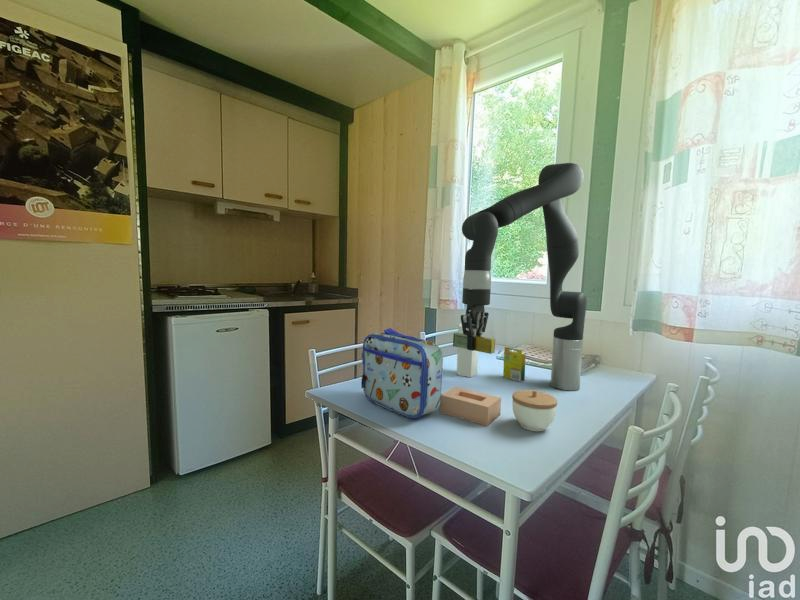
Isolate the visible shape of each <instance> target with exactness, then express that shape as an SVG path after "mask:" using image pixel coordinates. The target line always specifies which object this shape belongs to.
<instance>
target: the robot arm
mask: <svg viewBox="0 0 800 600" xmlns="http://www.w3.org/2000/svg"><path fill="white" fill-rule="evenodd" d="M584 177H585V176H584V171H583V169H582V167H581V166H580V165H579V164H577V163H575V162H574V163H573V162H564V163H554V164H553V163H552V164H548V165H545V166H544V167H543V168H542V169H541V170H540V173H539V176H538V184H536V185H534V186H531V187H528V188H525V189H522V190H518V191H517V192H514V193H511V194H510V195H507V196H506V197H504V198H502V199H500V200H499V201H497V202H496V203H494V204H493V205H490V206H489V207H486V208H484V209H482V210H480V211H477V212H475V213H473V214H470V215H469V216H468V217H466V219H464V221H463V222H462V225H461V233H462V235H463V237H465V239H467V240H469V241H472V244H471V245H472V246H471V247H470V248H469V249H468V250H467V251H466V252H465V256H464V271H463V278H462V295H461V296H462V297H461V300H462V301H461V303H462V304H463V305H466V309H465V314H461V315H460V323H462V329H463V334H464V335H466V336H467V350H471V351H474V350H475V345H476V336H481V337H482V336H483V334H484V333H485V332H486V329H487V323H488V320H489V314H490V313H489V312H487V311H486V312H485V310H486V309H485V306H489V305H491V304H490V303H491V288H492V276H491V275H492V273H491V272H492V271H491V270H492V268H491V267H492V255H493V251H494V248H495V245H496V243H497V242H496V241H497V239H498V234H499V228H504V227H506V226H509V225H511V224H513V223H514V222H516V221H518V220H519V219H522V218H523V217H525V216H526V215H528V214H530V213H531V212H534V211H535V210H537V209H540V208H542V213H543V220H544V229H545V237H546V238H545V239H546V251H547V252H546V255H547V262H548V272H549V307H550V311H551V315H552V316H554V317H555V318H560V319H561V318H562V319H571V320H572V321H571V323H570V324H567V325H564V326H558V327H556V328H554V329H553V338H552V354H551V356H552V357H551V371H550V373H551V374H550V385H551V386H552V387H554V388H556V389H558V390H565V391H578V390H580V388H581V387H580V386H581V375H582V361H583V358H582V357H583V343H584V330H585V322H586V321H585V320H586V312H587V306H588V305H587V302H588V301H587V295H586V294H585V292H581V291H569V290H568V291H566V290H563V283H564V282H565V281H564V280H565V278H566V277H567V275H568V273H569V272H570V271H571V269H572V268H573V267H574V265H575V263H576V262H577V261H578V259H579V253H580V252H579V251H580V250H579V236H578V233H577V231H576V229H575V227H574V225H573V224H572V222H571V220H570V219H569V217H568V215H567V213H566V212H565V210H564V206H563V200H562V199H563V198H566V197H569V196H572V195H574V194H575V193H578V191H579V190H580V188H581V187H582V184H583V182H584ZM466 328H467V330H466Z"/></svg>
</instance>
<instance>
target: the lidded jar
mask: <svg viewBox="0 0 800 600" xmlns="http://www.w3.org/2000/svg"><path fill="white" fill-rule="evenodd" d="M511 395H512V396H511V397H512V411H513V415H514V418H515V419H516V421H517V422H518V423H519V424H520V427H522V428H523V429H525V430H527V431H530V432H544V431H545V430H546V429H547V428H548V427H549V426H551V425H552V424H553V422H554V420H555V417H556V412H557V405H558V399H557V398H556V397H555V396H553V395H551V394H549V393H546V392H543V391H538V390H535V389H534V390H533V389H531V390H530V389H520V390H517V391H514V392H513V393H512V394H511Z"/></svg>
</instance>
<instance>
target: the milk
mask: <svg viewBox="0 0 800 600" xmlns="http://www.w3.org/2000/svg"><path fill="white" fill-rule="evenodd" d="M466 330H467V328H466ZM457 331H458V332H457V333H463V329H462V323H461V322H460V323H459V325H458V326H457ZM456 355H457V356H456V357H457V358H456V375H457V374H459V375H458V376H461V375H463V377H466V376H467V377H466V378H473V377H474V376H476V375H478V368H479V367H478V364H479V351H471V350H467V349H464V348H459V347H457V354H456Z"/></svg>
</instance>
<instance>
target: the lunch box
mask: <svg viewBox="0 0 800 600" xmlns="http://www.w3.org/2000/svg"><path fill="white" fill-rule="evenodd" d="M443 355H444V354H443V351H442V349H441V348H440V346H439V345H438V344H436V343H434V342H432V341H429V340H425V339H422V338H417V337H415V336H410V335H404V334H402V333H400V332H397V331H396V330H394V329H393V328H392V327H389V328H386V329H384V330H383V332H381V333H376V332H375V333H371V334H368V335H367V336H365V338H364V340H363V344H362V353H361V357H360V358H361V359H362V360H361V361H362V364H363V365H362V375H361V389H363V393H364V395H365V397H366V399H368V400H369V401H370V402H371V403H374V404H376V405H378V406H380V407H383V408H384V409H387V410H388V411H390V412H394V413H396V414H399V415H400V416H401V415H402V416H405V417H407V418H409V419H410V418H411V419H420V417H422V416H424V415H427V414H432V413H435V412H437V411H438V409H440V399H441V394H442V384H443V383H442V380H443V365H444V356H443Z"/></svg>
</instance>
